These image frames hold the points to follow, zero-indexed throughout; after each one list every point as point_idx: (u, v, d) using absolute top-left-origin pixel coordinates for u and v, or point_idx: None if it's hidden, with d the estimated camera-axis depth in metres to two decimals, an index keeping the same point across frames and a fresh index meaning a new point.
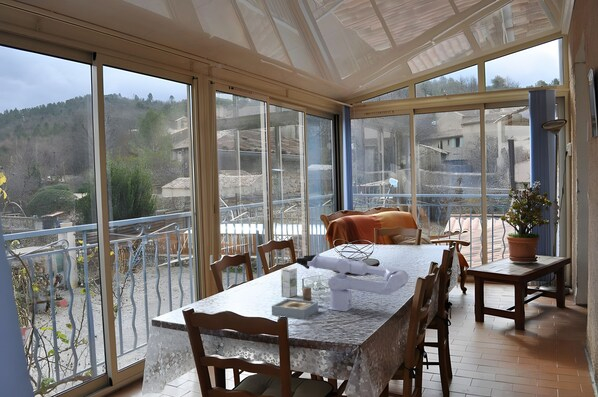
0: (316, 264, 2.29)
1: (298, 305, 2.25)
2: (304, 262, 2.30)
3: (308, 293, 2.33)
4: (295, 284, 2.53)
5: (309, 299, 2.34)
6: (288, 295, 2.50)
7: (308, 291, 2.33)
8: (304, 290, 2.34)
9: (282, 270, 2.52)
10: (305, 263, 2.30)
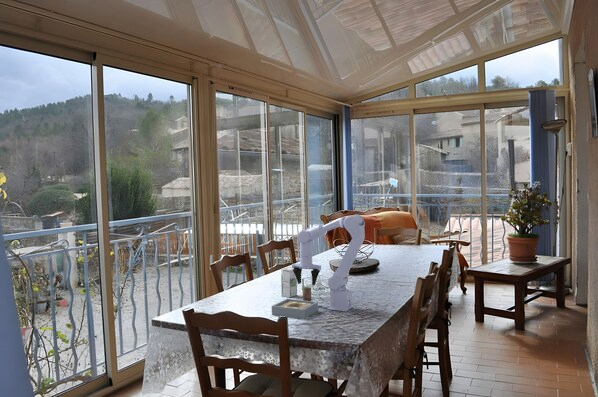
0: None
1: (298, 305, 2.25)
2: None
3: (308, 293, 2.33)
4: (295, 284, 2.53)
5: (309, 299, 2.34)
6: (288, 295, 2.50)
7: (308, 291, 2.33)
8: (304, 290, 2.34)
9: (282, 270, 2.52)
10: None
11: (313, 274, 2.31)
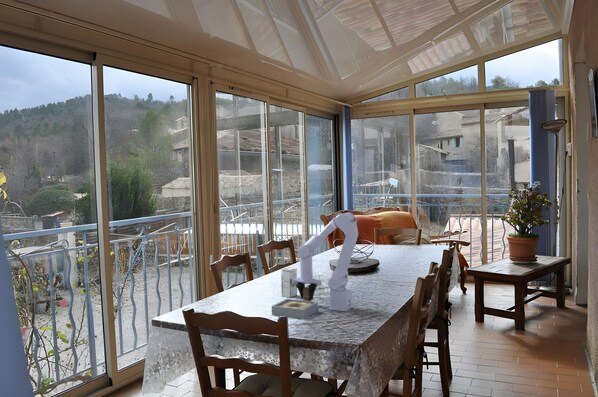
0: None
1: (298, 305, 2.25)
2: None
3: (308, 293, 2.33)
4: (295, 284, 2.53)
5: (309, 299, 2.34)
6: (288, 295, 2.50)
7: (308, 291, 2.33)
8: (304, 290, 2.34)
9: (282, 270, 2.52)
10: None
11: (310, 289, 2.32)
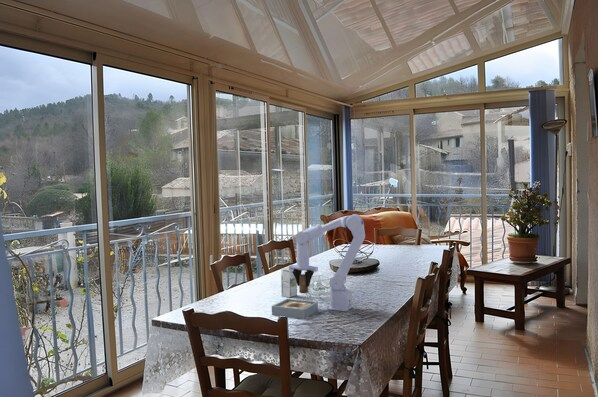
0: None
1: (298, 305, 2.25)
2: None
3: (305, 280, 2.30)
4: (295, 284, 2.53)
5: (305, 286, 2.30)
6: (288, 295, 2.50)
7: (304, 278, 2.30)
8: (300, 277, 2.30)
9: (282, 270, 2.52)
10: None
11: (307, 275, 2.28)
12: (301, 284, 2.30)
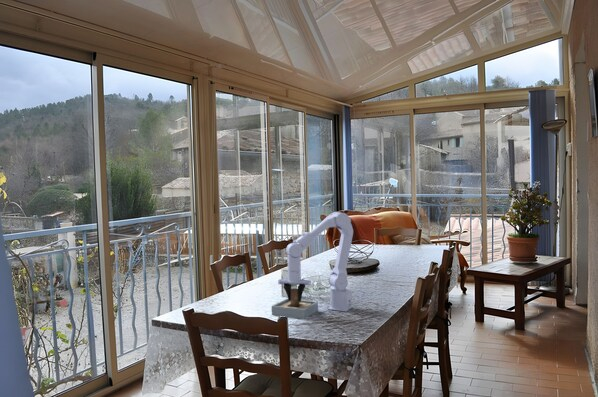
0: (288, 278, 2.22)
1: None
2: None
3: (297, 294, 2.21)
4: None
5: (298, 301, 2.21)
6: None
7: (297, 292, 2.21)
8: (293, 291, 2.20)
9: (282, 270, 2.52)
10: None
11: (300, 290, 2.19)
12: (293, 299, 2.20)
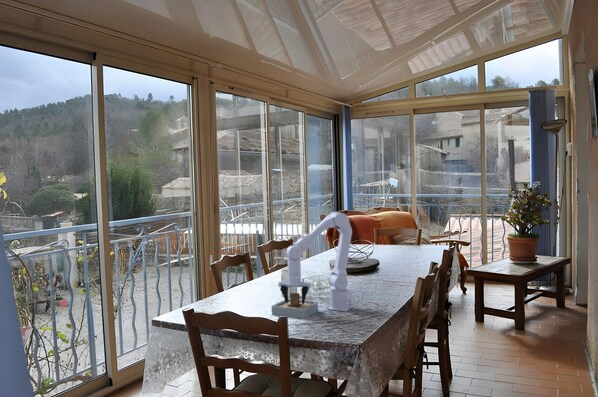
0: (288, 281, 2.22)
1: None
2: None
3: (297, 299, 2.21)
4: None
5: (298, 305, 2.21)
6: (288, 295, 2.50)
7: (297, 297, 2.21)
8: (293, 296, 2.20)
9: (282, 270, 2.52)
10: None
11: (303, 292, 2.19)
12: (293, 303, 2.21)
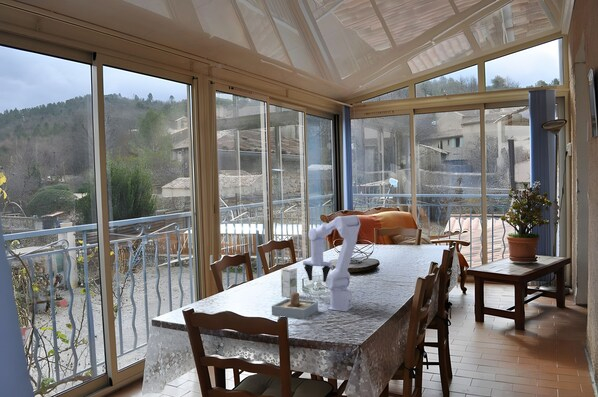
0: None
1: None
2: None
3: (297, 299, 2.21)
4: (295, 284, 2.53)
5: (298, 305, 2.21)
6: (288, 295, 2.50)
7: (297, 296, 2.21)
8: (293, 296, 2.20)
9: (282, 270, 2.52)
10: None
11: (324, 271, 2.37)
12: (293, 303, 2.21)
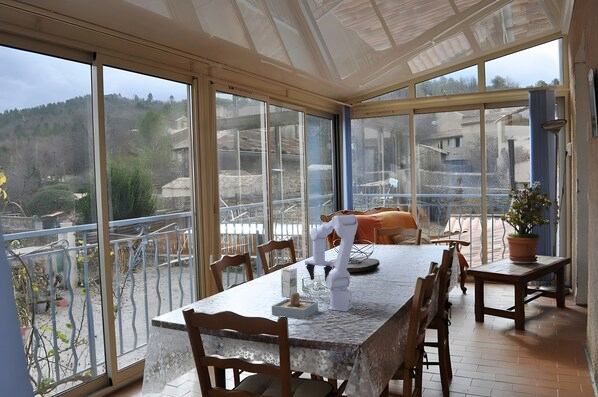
0: None
1: None
2: None
3: (297, 299, 2.21)
4: (295, 284, 2.53)
5: (298, 305, 2.21)
6: (288, 295, 2.50)
7: (297, 297, 2.21)
8: (293, 296, 2.20)
9: (282, 270, 2.52)
10: None
11: (326, 270, 2.39)
12: (293, 303, 2.21)
